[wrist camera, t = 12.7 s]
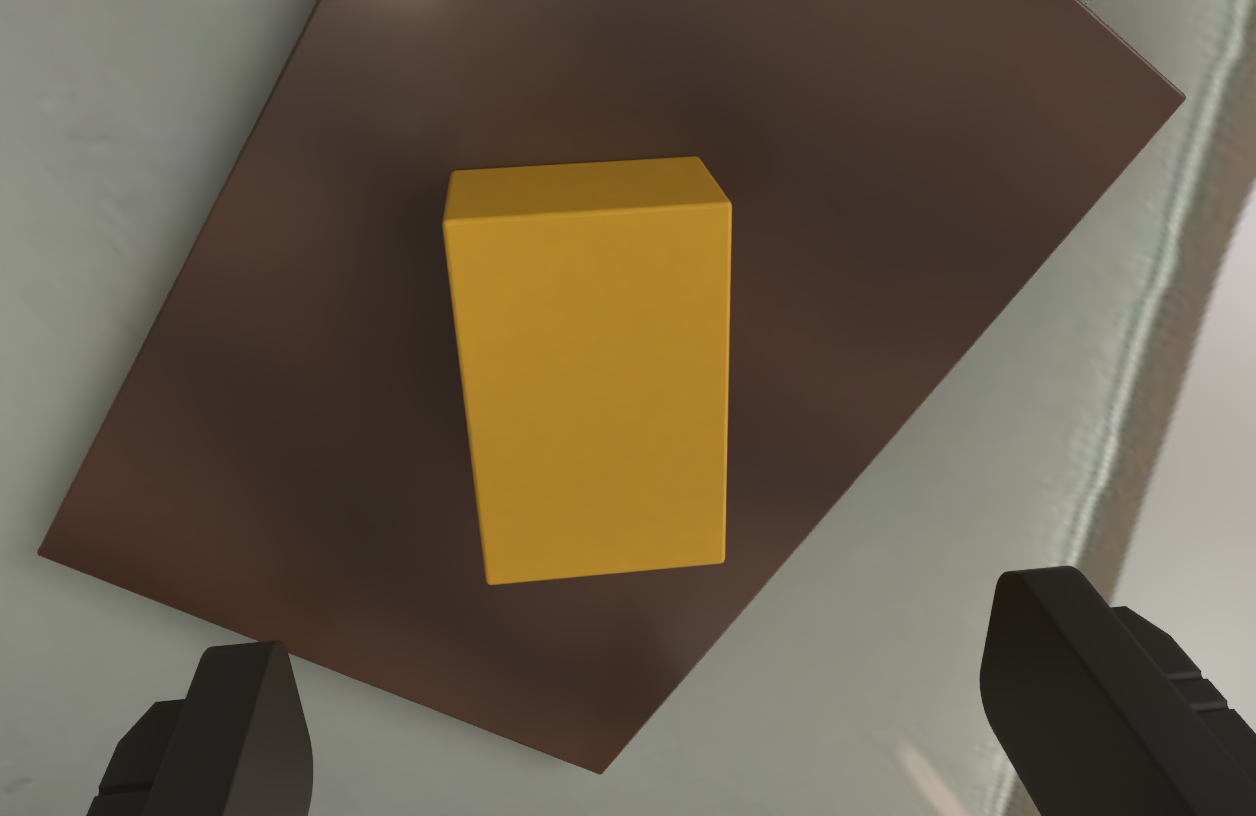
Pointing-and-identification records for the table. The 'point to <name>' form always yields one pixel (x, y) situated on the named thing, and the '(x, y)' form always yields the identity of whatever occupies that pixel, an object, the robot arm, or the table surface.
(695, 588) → the desk pad
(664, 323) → the block
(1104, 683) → the robot arm
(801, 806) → the table surface
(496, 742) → the table surface
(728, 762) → the table surface
